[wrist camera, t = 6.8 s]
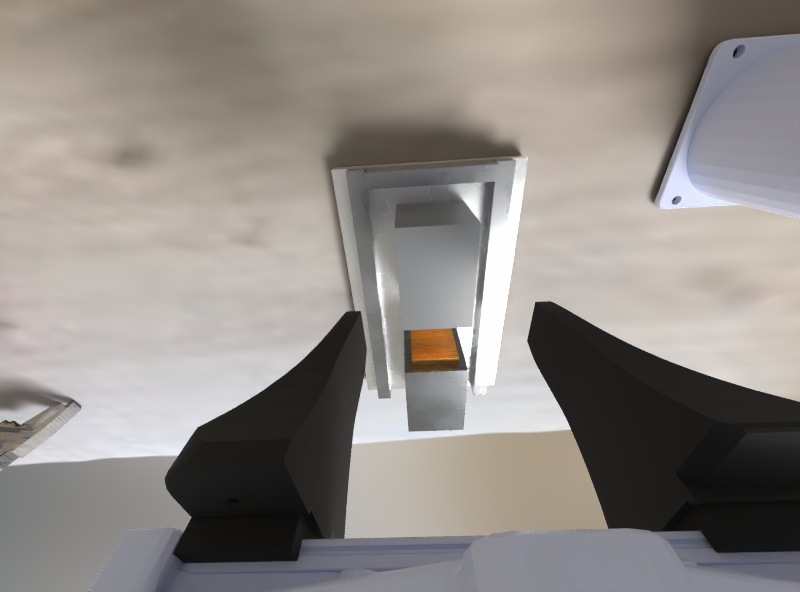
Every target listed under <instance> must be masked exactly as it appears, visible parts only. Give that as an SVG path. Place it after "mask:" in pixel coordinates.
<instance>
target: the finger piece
mask: <svg viewBox="0 0 800 592" xmlns="http://www.w3.org/2000/svg"><path fill="white" fill-rule="evenodd" d="M480 231H481V222H480V221H479V220H478V218H477V217H476V216H475V215H474V213H473V212H472V211H471V210H470V208H469V207H468V206H467V204H466V203H465V202H464V201H463V200H460V201H444V202H428V203H412V204H396V212H395V241H396V255H397V269H398V282H399V296H400V310H401V323H402V331H404V330H425V329H446V328H467V327H473V315H474V303H475V291H476V279H477V267H478V255H479V243H480Z"/></svg>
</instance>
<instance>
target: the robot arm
mask: <svg viewBox="0 0 800 592" xmlns="http://www.w3.org/2000/svg"><path fill="white" fill-rule="evenodd" d="M736 47H737V53H736V54H735V56H734V57H733V51H734V50H735V48H736ZM675 197H676V199H675V201H673V202H672V200H673V198H675ZM724 205H743V206H747V207H752V208H756V209H760V210H764V211H768V212H772V213H776V214H780V215H784V216H788V217H792V218H796V219H800V34H790V35H777V36H764V37H751V38H738V39H730V40H726V41H723V42H721V43H720V44H718V45H717V46H716V47H715V48H714V50H713V51H712V53H711V56H710V58H709V61H708V63H707V66H706V69H705V71H704V74H703V76H702V79H701V82H700V84H699V87H698V90H697V92H696V95H695V97H694V100H693V103H692V105H691V108H690V110H689V113H688V116H687V118H686V121H685V124H684V126H683V129H682V131H681V134H680V137H679V139H678V142H677V145H676V147H675V150H674V152H673V155H672V158H671V160H670V163H669V165H668V168H667V171H666V173H665V176H664V179H663V181H662V184H661V186H660V189H659V192H658V194H657V197H656V199H655V206H656V207H658V208H661V209H673V208H690V207H707V206H724ZM527 342H528V344H529V347H530V350H531V353H532V355H533V358H534V360H535V362H536V364H537V366H538V368H539V370H540V372H541V374H542V375H543V377H544V379H545V381H546V382H547V384H548V386H549V388H550V390H551V391H552V393H553V395H554V397H555V398H556V400H557V402H558V404H559V405H560V407H561V409H562V411H563V413H564V415H565V417H566V419H567V421H568V423H569V425H570V428H571V430H572V432H573V435H574V437H575V439H576V442H577V444H578V446H579V449H580V451H581V454H582V456H583V459H584V461H585V464H586V466H587V469H588V471H589V474H590V477H591V480H592V482H593V485H594V488H595V490H596V493H597V496H598V499H599V502H600V504H601V507H602V511H603V513H604V516H605V520H606V523H607V526H608V529H581V530H580V529H578V530H534V531H510V532H503V533H495V534H490V535H488V536H443V537H398V538H355V539H354V538H352V539H344V533H345V518H346V504H347V492H348V479H349V468H350V458H351V448H352V438H353V429H354V422H355V416H356V412H357V407H358V402H359V397H360V393H361V388H362V383H363V378H364V373H365V366H366V354H367V346H366V340H365V333H364V327H363V321H362V314H361V311H349V312H346V313H345V314H344V315H343V316H342V317H341V319H340V320H339V321H338V322H337V323H336V325H335V326H334V327H333V328H332V329H331V331H330V332H329V333H328V334H327V335H326V336H325V337H324V339H323V340H322V341H321V342H320V343H319V344H318V345H317V346H316V347H315V348H314V349H313V350H312V351H311V352H310V353H309V354H308V355H307V356H306V357H305V358H304V359H303V360H302V361H301V362H300V363H299V364H297V365H296V366H295V367H294V368H293V369H291V370H290V371H289V372H288V373H286V374H285V375H284V376H283V377H281V378H280V379H278V380H277V381H276V382H274V383H273V384H271V385H270V386H269V387H267V388H266V389H265V390H263V391H262V392H260V393H258V394H257V395H255V396H254V397H252V398H251V399H249V400H247V401H246V402H244V403H242V404H241V405H239V406H237V407H236V408H234V409H232V410H230V411H228V412H227V413H225V414H223V415H221V416H219V417H217V418H215V419H213V420H211V421H209V422H208V423H206V424H204V425H202V426H200V427H198V428H197V429H196V431H195V432H194V433H193V435H192V436H191V438H190V439H189V441H188V442H187V444H186V445H185V447H184V448H183V450H182V451H181V453H180V454H179V456H178V457H177V459H176V460H175V462H174V463H173V465H172V466H171V468H170V469H169V471H168V472H167V475H166V477H165V484H166V488H167V490H168V491H169V493H170V494H171V496H172V497H173V498H174V499H175V500H176V501H177V502H178V503H179V504H180V505H181V506H182V507H183V509H184V510H185V511H186V512H187V513H188V514H189V515H190V516H191V517H192V518H191V520H190V522H189V523H188V525H187V527H186V529H185V531H182V530H179V529H175V528H138V529H131V530H129V531H128V532H127V533H126V535H125V536H124V538H123V539H122V541H121V542H120V544H119V545H118V547H117V548H116V550H115V551H114V553H113V554H112V556H111V557H110V559H109V560H108V562H107V563H106V565H105V566H104V568H103V569H102V571H101V572H100V574H99V575H98V577H97V578H96V580H95V581H94V583H93V585H92V586H91V587H90V589H89V590H88V592H800V402H798V401H794V400H790V399H786V398H782V397H779V396H775V395H771V394H767V393H763V392H760V391H756V390H752V389H749V388H745V387H742V386H739V385H736V384H732V383H729V382H726V381H723V380H720V379H717V378H714V377H711V376H708V375H705V374H702V373H699V372H696V371H693V370H691V369H688V368H685V367H682V366H680V365H677V364H674V363H672V362H669V361H667V360H664V359H662V358H659V357H657V356H655V355H653V354H650V353H648V352H646V351H643V350H641V349H639V348H637V347H635V346H632V345H630V344H628V343H626V342H624V341H622V340H620V339H618V338H616V337H614V336H612V335H610V334H609V333H607V332H605V331H603V330H601V329H599V328H598V327H596V326H594V325H592V324H590V323H589V322H587V321H585V320H583V319H582V318H580V317H578V316H577V315H575V314H573V313H571V312H570V311H568V310H566V309H564V308H563V307H561V306H559V305H557V304H555V303H553V302H551V301H548V302H535V307H534V311H533V316H532V321H531V326H530V330H529V335H528V340H527Z"/></svg>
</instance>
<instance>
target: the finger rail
mask: <svg viewBox="0 0 800 592" xmlns="http://www.w3.org/2000/svg"><path fill="white" fill-rule="evenodd" d="M527 163H528V157H527V156H523V155H517V156H502V157H487V158H472V159H457V160H441V161H426V162H411V163H396V164H381V165H366V166H351V167H336V168H333V169H332V170H331V173H332V179H333V184H334V190H335V196H336V202H337V208H338V214H339V220H340V226H341V232H342V237H343V243H344V249H345V255H346V261H347V267H348V273H349V279H350V285H351V291H352V296H353V302H354V308H355V311H361V314H362V321H363V327H364V333H365V340H366V346H367V354H366V366H365V373H366V379H367V385H368V390H374V389H378V396H379V399H380V398H391V389H399V388H406V400H407V414H408V427H409V431H437V430H463V427H464V415H465V403H466V391H467V386H471V388H472V392H473V395H483V394H485V392H486V385H494V381H495V374H496V368H497V361H498V355H499V348H500V341H501V335H502V328H503V322H504V315H505V308H506V302H507V295H508V289H509V282H510V275H511V269H512V262H513V256H514V249H515V242H516V236H517V229H518V223H519V216H520V209H521V203H522V196H523V190H524V183H525V176H526V170H527ZM460 200H463V201H464V202H465V203H466V204H467V206H468V207H469V208H470V210H471V211H472V212H473V213H474V215H475V216H476V217H477V218H478V220H479V221H480V222H481V231H480V243H479V255H478V267H477V279H476V291H475V303H474V315H473V327H467V328H446V329H425V330H404V331H402V323H401V310H400V296H399V282H398V269H397V255H396V241H395V212H396V204H412V203H428V202H444V201H460Z"/></svg>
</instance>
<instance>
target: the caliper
mask: <svg viewBox="0 0 800 592" xmlns="http://www.w3.org/2000/svg"><path fill="white" fill-rule="evenodd" d="M80 410H81V407H80V406H78V405H77V404H76V403H75V402H74V401H71V402H70V403H68V404H67V405H66V406H65V405H64V404H62V403H56V404H54V405H53V406H51V407H49V408H48V409H46V410H45V411H43V412H41V413H40V414H38V415H36V416H35V417H33V418H31V419H30V420H28V421H27V422H25V423H23V424H22V425H20V424H18V423H17V422H15V421H11V422H8V421H7V420H5V421H3V422H1V423H0V471H1V470H3V469H4V468H5V467H7V466H8V465H9V464H11V463H12V462H13V461H14V460H16V459H17V458H18V457H24V456H26V455H27V454H28V453H30V452H31V451H32V450H34V449H35V448H36V447H38V446H39V445H40V444H42V443H43V442H44V441H46V440H47V439H48V438H49V437H51V436H52V435H53V434H54V433H55V432H57V431H58V430H59V429H60V428H61V427H62V426H63V425H64V424H65V423H67V422H68V421H69V420H70V419H71V418H72V417H73V416H74V415H75V414H76V413H78V412H79V411H80Z"/></svg>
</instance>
